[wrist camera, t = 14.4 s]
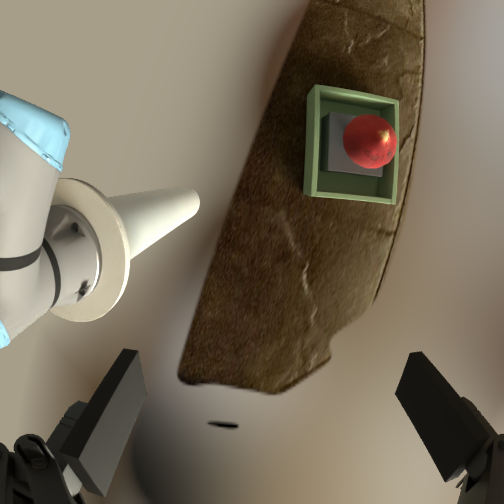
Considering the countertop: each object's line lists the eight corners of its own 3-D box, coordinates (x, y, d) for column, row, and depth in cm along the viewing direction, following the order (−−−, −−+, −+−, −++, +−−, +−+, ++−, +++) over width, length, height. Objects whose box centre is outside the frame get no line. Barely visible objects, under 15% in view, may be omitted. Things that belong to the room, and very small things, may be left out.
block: (319, 171, 35) (327, 170, 31) (321, 118, 34) (329, 111, 30) (369, 176, 35) (382, 177, 32) (371, 126, 34) (384, 121, 30)
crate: (302, 193, 37) (310, 196, 32) (306, 95, 33) (315, 84, 28) (379, 200, 37) (395, 204, 32) (382, 108, 34) (398, 100, 29)
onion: (387, 157, 31) (421, 153, 23) (348, 177, 32) (377, 177, 24) (365, 114, 30) (395, 98, 22) (325, 132, 30) (348, 119, 23)
